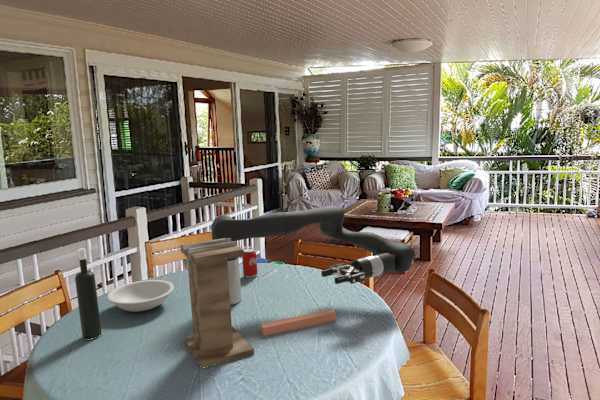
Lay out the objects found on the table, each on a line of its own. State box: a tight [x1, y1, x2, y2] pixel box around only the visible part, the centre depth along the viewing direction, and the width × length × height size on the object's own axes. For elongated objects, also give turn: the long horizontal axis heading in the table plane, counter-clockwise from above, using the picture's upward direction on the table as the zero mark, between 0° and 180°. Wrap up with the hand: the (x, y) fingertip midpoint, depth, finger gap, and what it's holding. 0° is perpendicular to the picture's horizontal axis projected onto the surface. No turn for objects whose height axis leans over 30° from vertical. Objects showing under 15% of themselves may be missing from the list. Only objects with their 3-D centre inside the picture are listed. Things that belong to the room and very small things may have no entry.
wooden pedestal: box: [179, 238, 255, 369], centre depth 138 cm, size 18×16×33 cm
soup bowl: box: [106, 279, 175, 312], centre depth 174 cm, size 24×24×7 cm
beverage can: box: [241, 248, 258, 279], centre depth 204 cm, size 6×6×12 cm
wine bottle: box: [74, 247, 102, 340], centre depth 149 cm, size 6×6×30 cm
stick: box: [259, 308, 337, 337], centre depth 153 cm, size 3×26×3 cm, turn 112°
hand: (328, 277), depth 156 cm, fingers open, 8 cm apart
